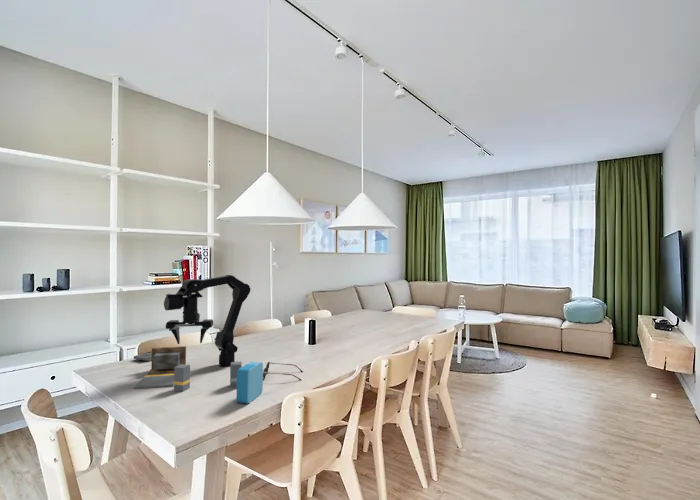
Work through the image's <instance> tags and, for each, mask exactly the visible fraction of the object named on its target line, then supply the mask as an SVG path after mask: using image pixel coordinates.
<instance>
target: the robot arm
mask: <svg viewBox="0 0 700 500" xmlns="http://www.w3.org/2000/svg"><path fill="white" fill-rule="evenodd" d="M223 285H228V287H229V288H231V290H232V292H231V293H232V294H231V295H232V302H231V303H230V308H229V311H228V313H227V316H226V319H225V322H224V326H223V327H222V329H221V330H220V331H217V332H216V336H215V337H214V344H215V345H214V346H215V347H216V348H217V349H218V351H219V352H220V353H219V355H218V365H219V367H230V365H231V362H236V361H235V360H236V358H235V357H236V355H235V354H236V353H237V352H238V346H236V344H234V340H235V339H234V338H235V337H234V336H235V335H234V330H235V327H236V324H237V321H238V318H239V315H240V313H241V309H242V307H243V304H244V301H245V300H246V299H247V298H248V296H249V294H250V292H251V287H250V285H249V284H248V283H244V282H243V281H242V280H240V279H238V278H237V277H236V276H234V275H232V274H226V275H221V276H215V277H210V278H205V279H204V278H203V279H197V278H196V279H195V278H194V279H192V278H191V279H190V278H188V279H185V280H184V281H183V282H182V283H181V287H180V288H179V290H177V292H176V293H172V294H171V293H167V294H165V297H164V301H163V307H164V311H175V310H181V309H182V308H183V311H182V321H179V319H172V320H171V319H170V320H169V321H167V322H166V323H165V329H166V330H168V331H169V332H171V333H172V335H173V337H174V338H175V341H176V343H177V344H178V345H180V343H181V338H180V336H181V335H180V327H201V328H200V334H199V335H200V337H199V338H200V339H199V343H200V344H203V340H204V338H205V335H206V332H207V331H208V330H209V329H210V328H212V327H214V322H215V321H214V320H213V319H211V318H210V319H203V320H202V321H201V320H200V317H201V314H200V313H199V312H198V311H199V310H198V301H199V299H198V298H203V295H202V294H201V293H200V292H201V291H203V290H204V289H207V288H212V287H218V286H223Z"/></svg>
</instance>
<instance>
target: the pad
mask: <svg viewBox="0 0 700 500" xmlns="http://www.w3.org/2000/svg"><path fill="white" fill-rule="evenodd" d="M169 387H174V373H165V374H145V375H144V376H143V377H142V378H141V379H140V380H139V381H138V382H137V384H135V385H134V387H133V389H134V390H138V389H151V388H152V389H153V388H154V389H155V388H169Z"/></svg>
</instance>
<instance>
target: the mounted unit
mask: <svg viewBox="0 0 700 500" xmlns="http://www.w3.org/2000/svg"><path fill="white" fill-rule="evenodd" d="M151 351H152V361H151V365H150V366H151V368H150V369H149V370H148V372H147V375H158V374H174V367H176V366H178V365H181V364H185V365H187V345H185V346H164V347H163V346H162V347H161V346H158V347H152V348H151Z"/></svg>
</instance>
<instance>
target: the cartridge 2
mask: <svg viewBox="0 0 700 500" xmlns="http://www.w3.org/2000/svg"><path fill="white" fill-rule="evenodd" d="M242 363H243V362H242V361H235V362H231V365H230V366H229V367H230V377H229V387H230V389H233V388H235V387H237V371H238V369H239V368H241V367H243V366H242Z"/></svg>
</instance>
